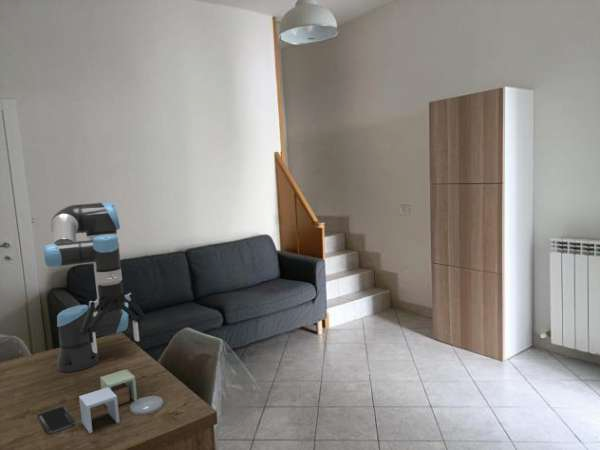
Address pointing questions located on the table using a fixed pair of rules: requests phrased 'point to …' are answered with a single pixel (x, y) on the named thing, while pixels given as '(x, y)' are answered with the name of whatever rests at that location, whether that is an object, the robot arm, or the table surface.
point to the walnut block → (121, 393)
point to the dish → (146, 405)
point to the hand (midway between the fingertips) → (116, 346)
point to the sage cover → (120, 378)
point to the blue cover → (97, 399)
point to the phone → (56, 420)
